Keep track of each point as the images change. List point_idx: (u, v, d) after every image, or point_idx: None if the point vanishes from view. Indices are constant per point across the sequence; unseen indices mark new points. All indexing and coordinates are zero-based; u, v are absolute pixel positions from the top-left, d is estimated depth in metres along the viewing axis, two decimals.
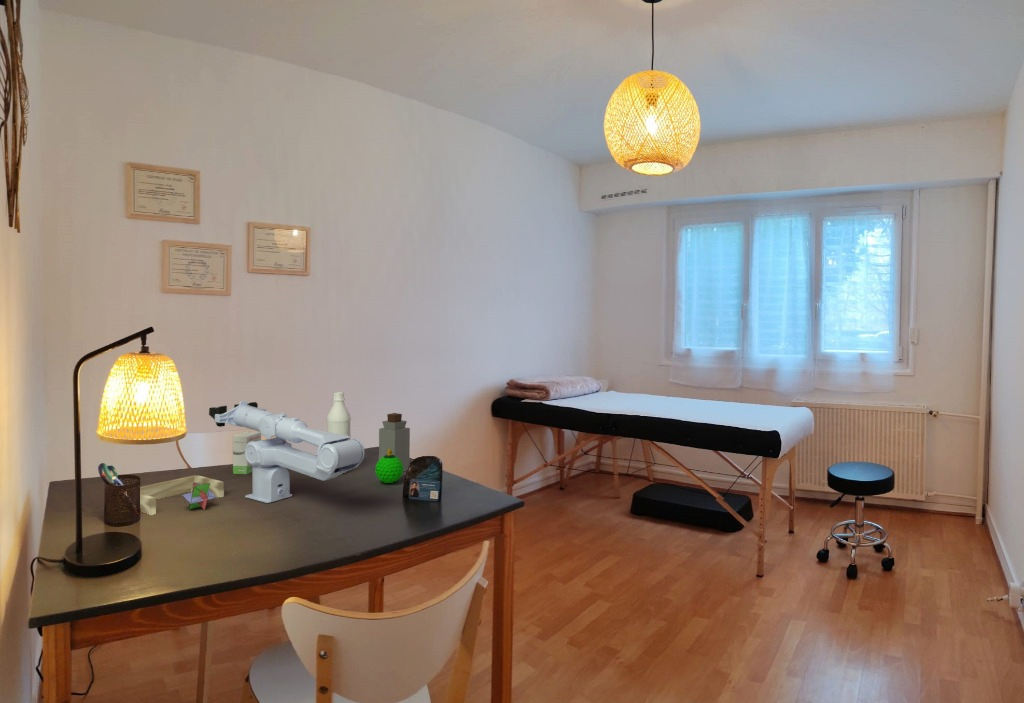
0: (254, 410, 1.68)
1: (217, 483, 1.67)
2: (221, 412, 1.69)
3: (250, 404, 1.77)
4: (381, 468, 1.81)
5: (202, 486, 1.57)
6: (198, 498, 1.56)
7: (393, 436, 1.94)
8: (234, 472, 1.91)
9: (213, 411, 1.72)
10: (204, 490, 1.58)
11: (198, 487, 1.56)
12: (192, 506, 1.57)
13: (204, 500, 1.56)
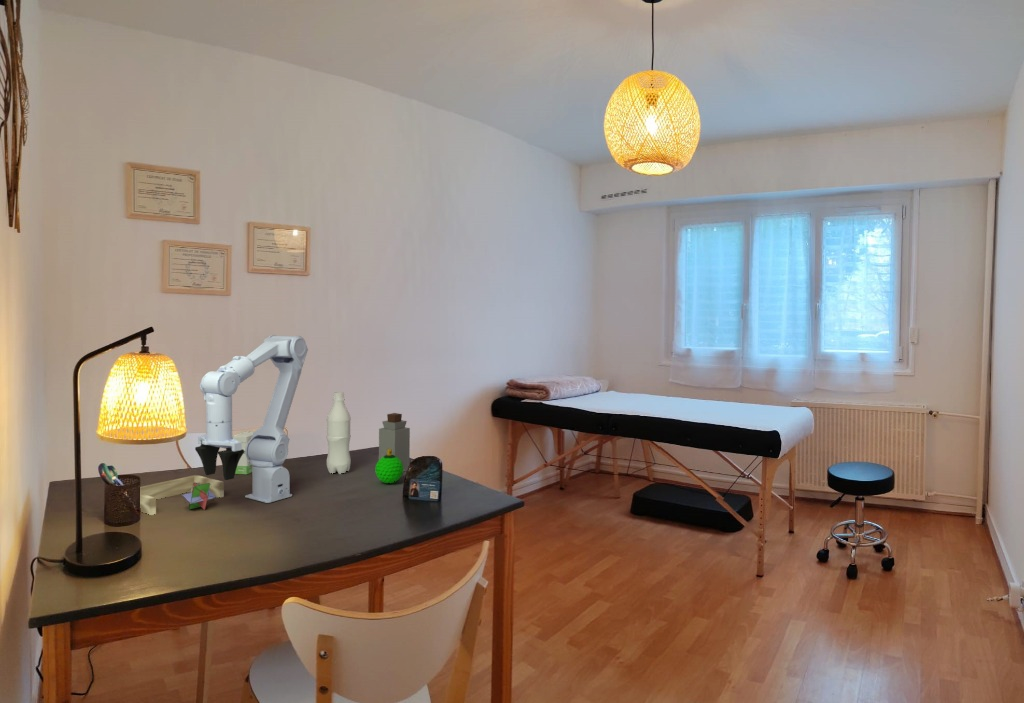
0: (213, 416, 1.49)
1: (217, 483, 1.67)
2: (228, 451, 1.48)
3: (201, 448, 1.52)
4: (381, 468, 1.81)
5: (202, 486, 1.57)
6: (198, 498, 1.56)
7: (393, 436, 1.94)
8: None
9: (228, 470, 1.50)
10: (204, 490, 1.58)
11: (198, 487, 1.56)
12: (192, 506, 1.57)
13: (204, 500, 1.56)
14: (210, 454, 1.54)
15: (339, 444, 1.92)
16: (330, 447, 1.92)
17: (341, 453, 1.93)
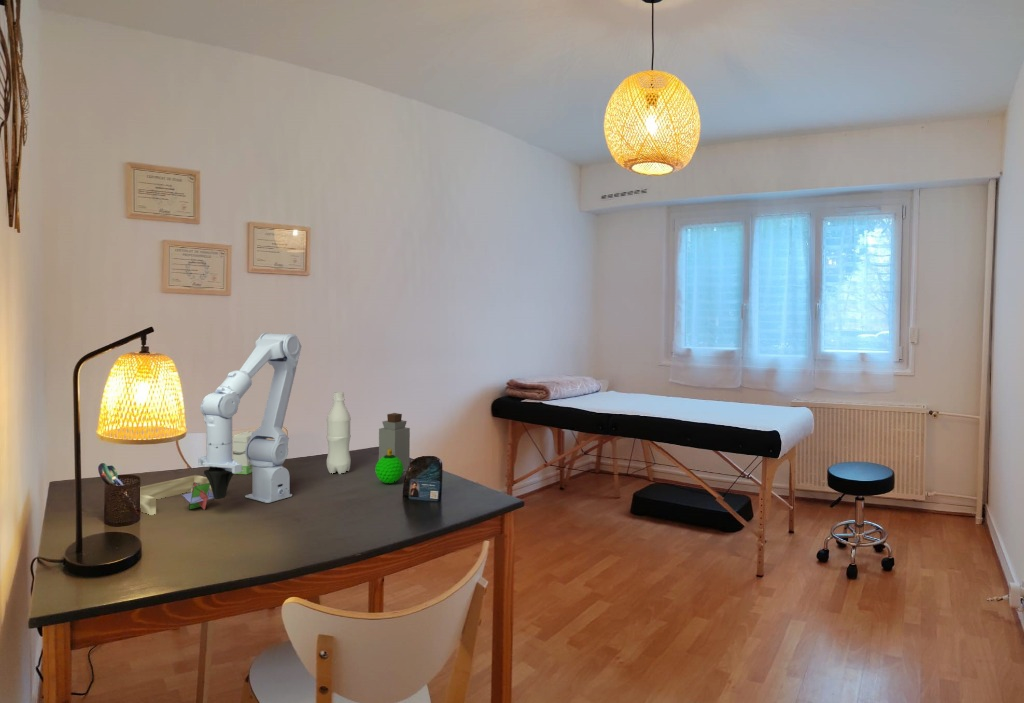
0: (213, 438, 1.49)
1: None
2: (219, 471, 1.51)
3: (210, 472, 1.51)
4: (381, 468, 1.81)
5: (202, 486, 1.57)
6: (198, 498, 1.56)
7: (393, 436, 1.94)
8: None
9: (220, 490, 1.52)
10: (204, 490, 1.58)
11: (198, 487, 1.56)
12: (192, 506, 1.57)
13: (204, 500, 1.56)
14: None
15: (339, 444, 1.92)
16: (330, 447, 1.92)
17: (341, 453, 1.93)
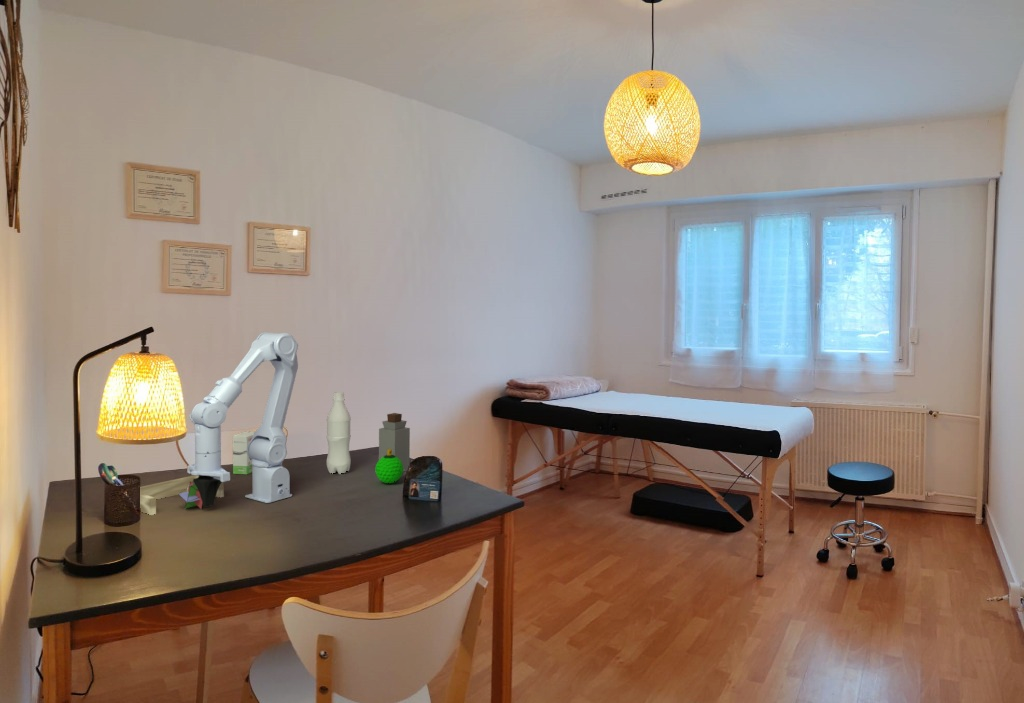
0: (199, 447, 1.52)
1: None
2: (207, 479, 1.53)
3: None
4: (381, 468, 1.81)
5: None
6: (194, 497, 1.57)
7: (393, 436, 1.94)
8: (234, 472, 1.91)
9: (208, 497, 1.55)
10: None
11: (194, 486, 1.57)
12: (188, 505, 1.58)
13: (200, 499, 1.57)
14: (208, 486, 1.55)
15: (339, 444, 1.92)
16: (330, 447, 1.92)
17: (341, 453, 1.93)
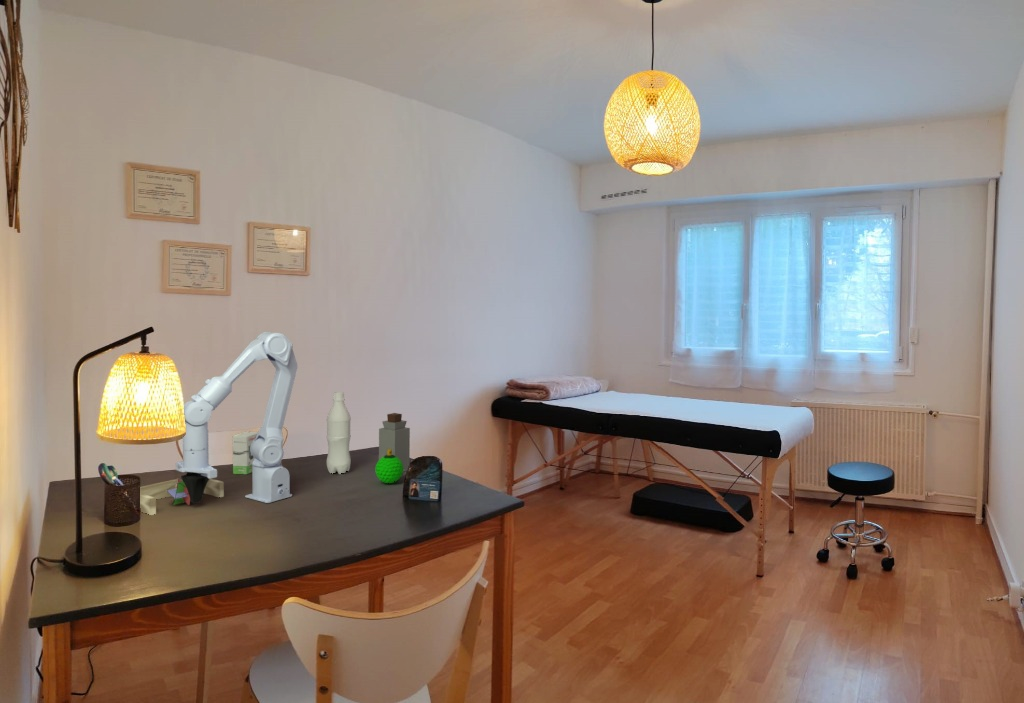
0: (184, 444, 1.55)
1: (217, 483, 1.67)
2: (195, 476, 1.56)
3: None
4: (381, 468, 1.81)
5: None
6: (182, 494, 1.60)
7: (393, 436, 1.94)
8: (234, 472, 1.91)
9: (196, 494, 1.57)
10: None
11: (182, 483, 1.59)
12: (176, 501, 1.60)
13: (188, 495, 1.60)
14: (196, 482, 1.58)
15: (339, 444, 1.92)
16: (330, 447, 1.92)
17: (341, 453, 1.93)
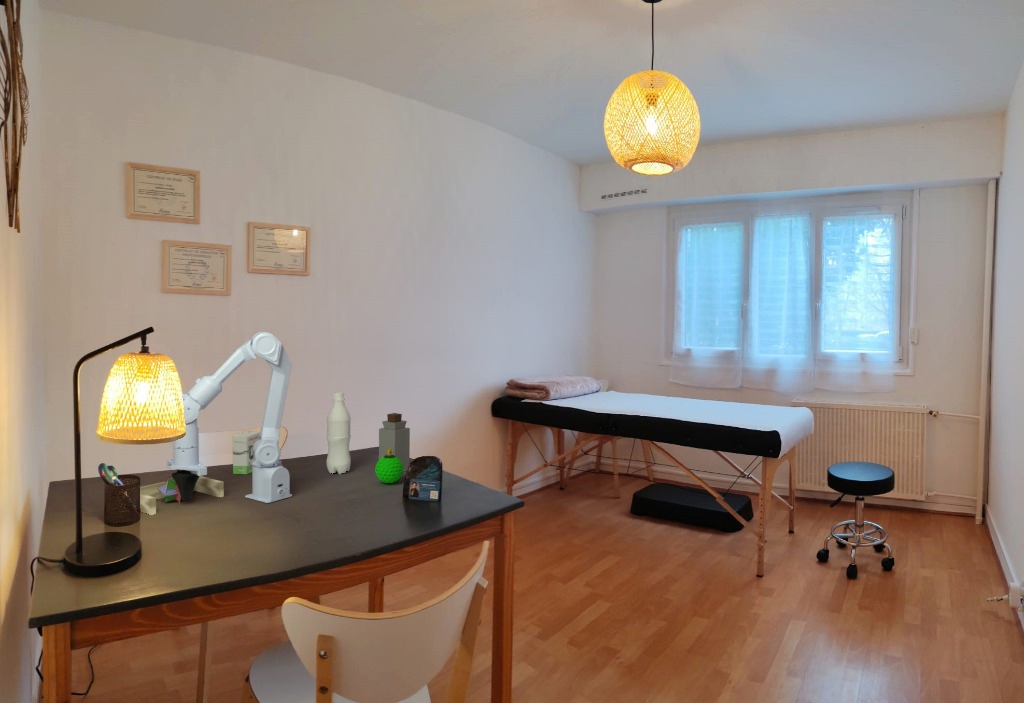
0: (173, 442, 1.57)
1: (217, 483, 1.67)
2: (185, 473, 1.58)
3: None
4: (381, 468, 1.81)
5: None
6: (173, 491, 1.62)
7: (393, 436, 1.94)
8: (234, 472, 1.91)
9: (186, 491, 1.59)
10: None
11: (173, 480, 1.62)
12: (167, 499, 1.63)
13: (179, 493, 1.62)
14: (186, 480, 1.60)
15: (339, 444, 1.92)
16: (330, 447, 1.92)
17: (341, 453, 1.93)
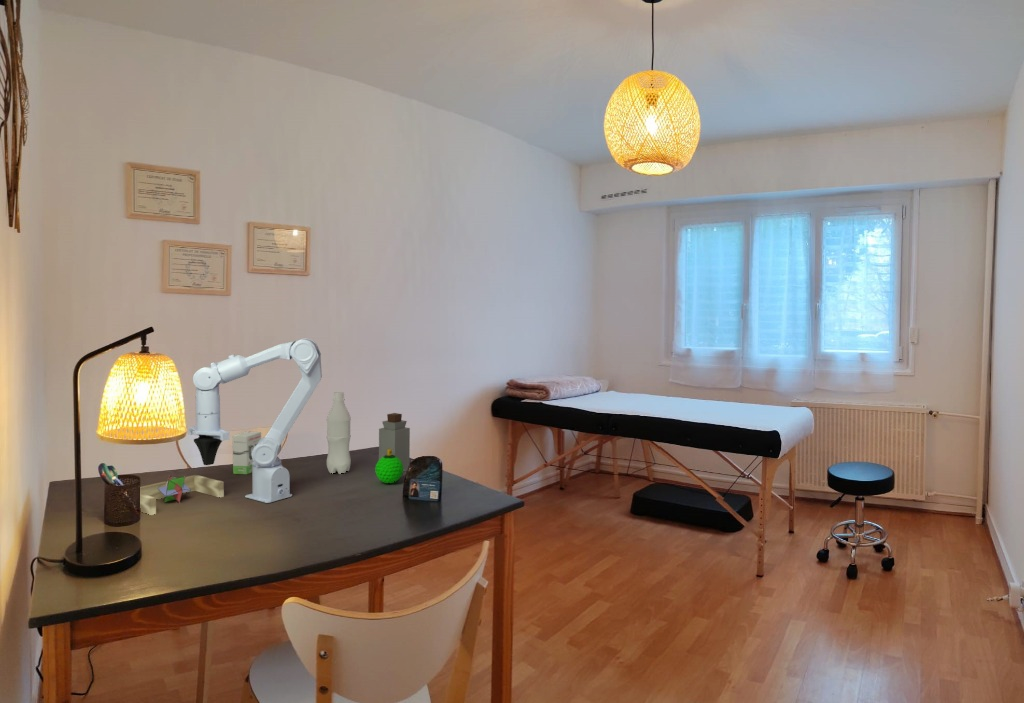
0: None
1: (217, 483, 1.67)
2: (208, 439, 1.62)
3: None
4: (381, 468, 1.81)
5: (177, 479, 1.62)
6: (173, 491, 1.62)
7: (393, 436, 1.94)
8: (234, 472, 1.91)
9: (209, 456, 1.64)
10: (179, 483, 1.63)
11: (173, 480, 1.62)
12: (167, 499, 1.63)
13: (179, 493, 1.62)
14: None
15: (339, 444, 1.92)
16: (330, 447, 1.92)
17: (341, 453, 1.93)
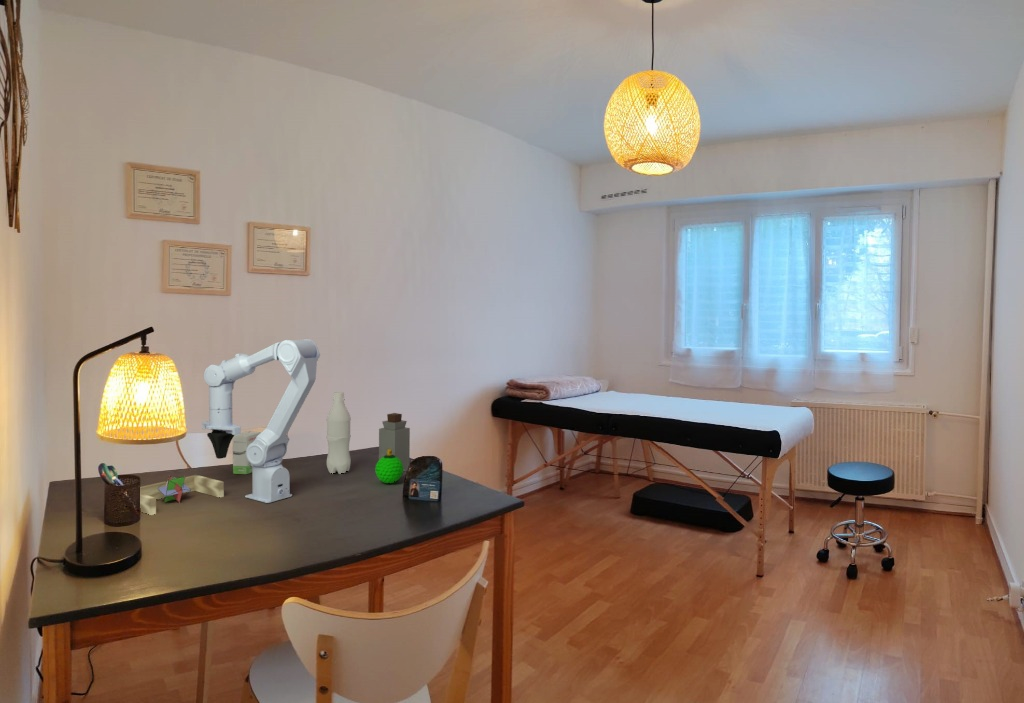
0: None
1: (217, 483, 1.67)
2: (220, 433, 1.70)
3: None
4: (381, 468, 1.81)
5: (177, 479, 1.62)
6: (173, 491, 1.62)
7: (393, 436, 1.94)
8: (234, 472, 1.91)
9: (221, 450, 1.71)
10: (179, 483, 1.63)
11: (173, 480, 1.62)
12: (167, 499, 1.63)
13: (179, 493, 1.62)
14: (220, 439, 1.72)
15: (339, 444, 1.92)
16: (330, 447, 1.92)
17: (341, 453, 1.93)
